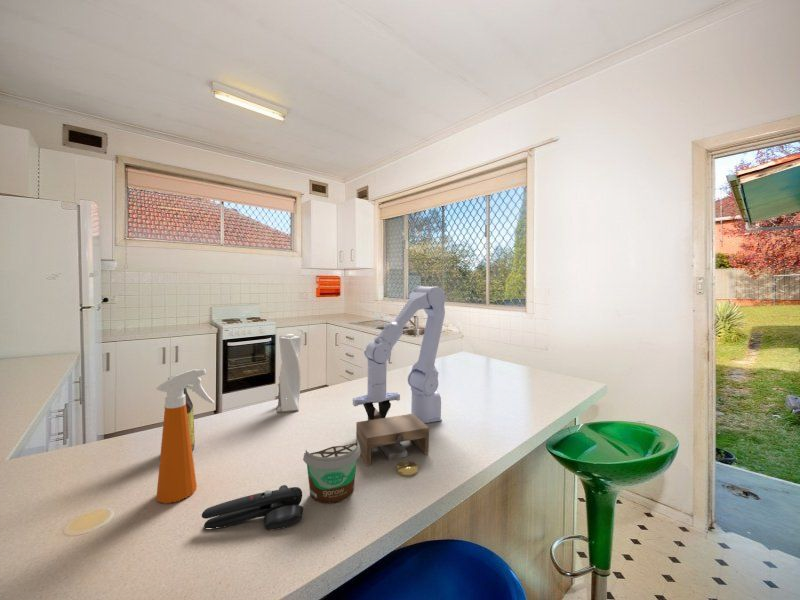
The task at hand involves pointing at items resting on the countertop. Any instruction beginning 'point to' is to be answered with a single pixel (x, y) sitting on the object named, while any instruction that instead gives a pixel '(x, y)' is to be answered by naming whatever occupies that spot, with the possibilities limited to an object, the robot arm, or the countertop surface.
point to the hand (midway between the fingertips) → (376, 425)
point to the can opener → (259, 509)
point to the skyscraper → (289, 373)
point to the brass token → (407, 468)
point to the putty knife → (391, 445)
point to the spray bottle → (178, 438)
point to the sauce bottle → (189, 416)
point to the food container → (332, 472)
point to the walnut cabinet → (391, 433)
